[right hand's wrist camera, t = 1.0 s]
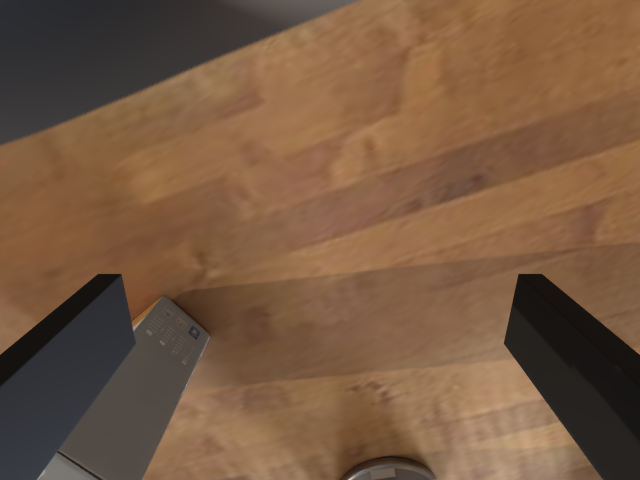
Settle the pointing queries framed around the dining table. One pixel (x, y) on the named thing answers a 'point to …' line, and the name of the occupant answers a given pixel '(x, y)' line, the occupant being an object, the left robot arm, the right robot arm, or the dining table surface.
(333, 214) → the dining table surface
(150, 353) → the hard drive box
